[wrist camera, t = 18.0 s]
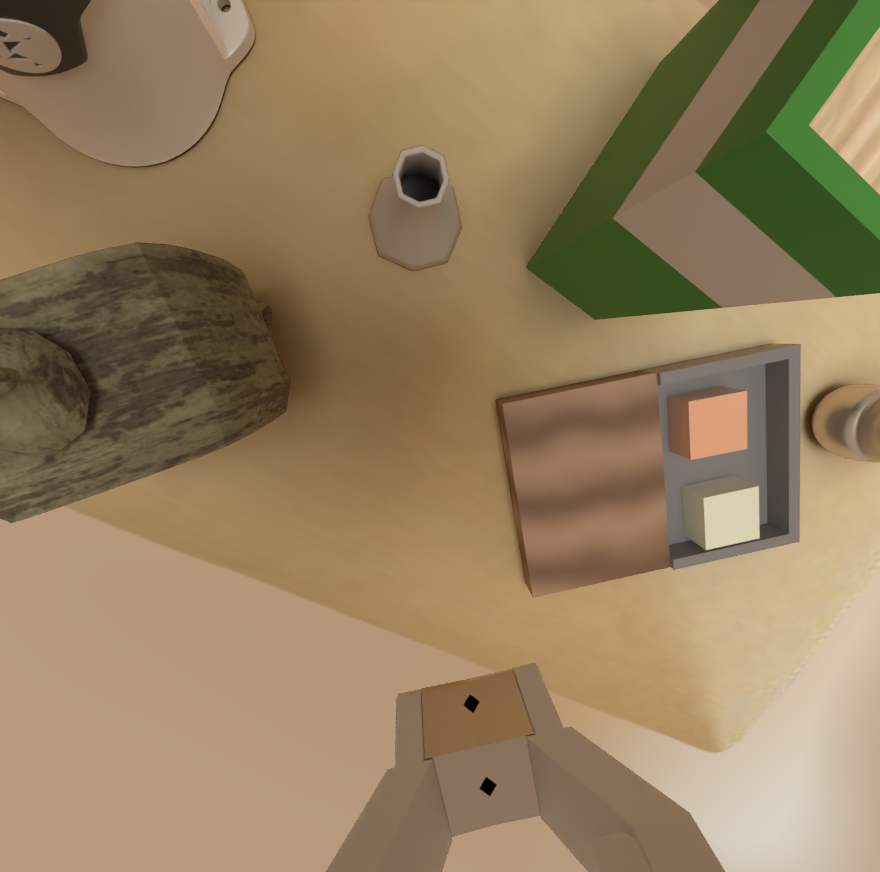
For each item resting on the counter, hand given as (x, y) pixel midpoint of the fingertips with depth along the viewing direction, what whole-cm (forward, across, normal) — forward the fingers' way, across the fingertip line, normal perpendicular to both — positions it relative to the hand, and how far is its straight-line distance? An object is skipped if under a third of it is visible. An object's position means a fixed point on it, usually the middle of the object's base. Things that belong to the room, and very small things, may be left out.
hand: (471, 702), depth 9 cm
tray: (+29, -26, +8) cm, 40 cm away
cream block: (+29, -25, +13) cm, 40 cm away
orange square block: (+28, -24, +4) cm, 38 cm away
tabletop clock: (+29, +15, -8) cm, 34 cm away
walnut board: (+29, -13, +8) cm, 33 cm away
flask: (+29, -3, -16) cm, 34 cm away
